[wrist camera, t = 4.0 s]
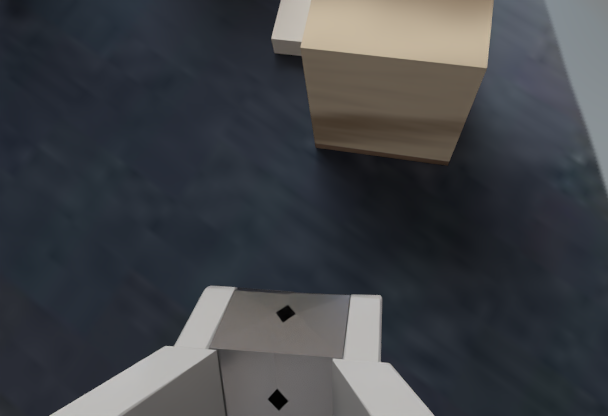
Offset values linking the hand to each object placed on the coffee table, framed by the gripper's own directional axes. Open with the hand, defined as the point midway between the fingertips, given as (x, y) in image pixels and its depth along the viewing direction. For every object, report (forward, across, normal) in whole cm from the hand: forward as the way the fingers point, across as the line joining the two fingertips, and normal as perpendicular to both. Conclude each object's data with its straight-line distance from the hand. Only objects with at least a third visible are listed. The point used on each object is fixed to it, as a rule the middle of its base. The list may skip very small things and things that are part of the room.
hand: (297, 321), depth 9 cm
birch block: (+25, -2, +4) cm, 26 cm away
